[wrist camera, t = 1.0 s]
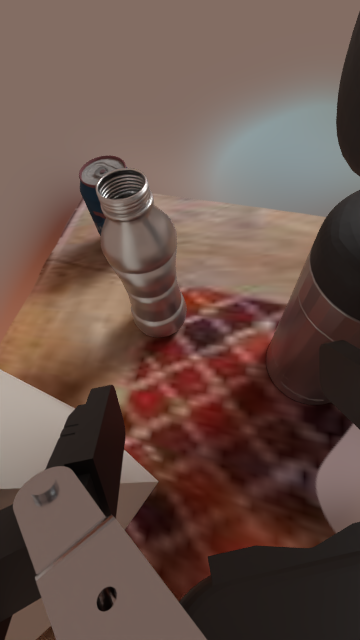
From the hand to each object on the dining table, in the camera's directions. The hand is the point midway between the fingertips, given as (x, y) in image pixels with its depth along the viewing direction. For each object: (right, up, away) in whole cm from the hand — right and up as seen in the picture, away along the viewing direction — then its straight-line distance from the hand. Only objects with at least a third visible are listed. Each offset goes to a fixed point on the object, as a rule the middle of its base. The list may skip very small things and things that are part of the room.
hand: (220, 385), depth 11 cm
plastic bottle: (-4, +2, +27) cm, 27 cm away
